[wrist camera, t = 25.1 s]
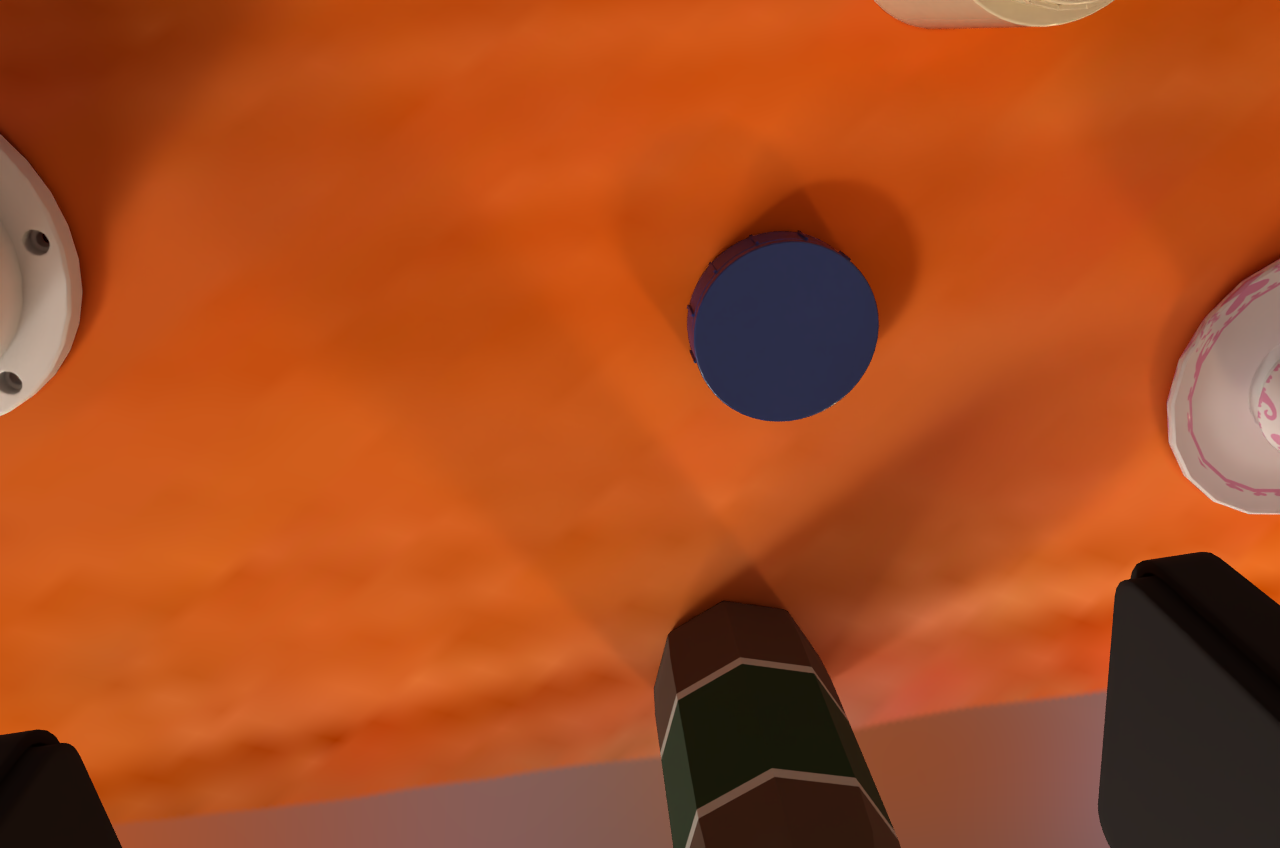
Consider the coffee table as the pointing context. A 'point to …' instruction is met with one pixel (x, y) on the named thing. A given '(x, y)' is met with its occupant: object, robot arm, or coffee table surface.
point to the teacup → (1232, 399)
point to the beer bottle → (759, 739)
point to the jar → (989, 12)
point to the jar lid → (782, 326)
